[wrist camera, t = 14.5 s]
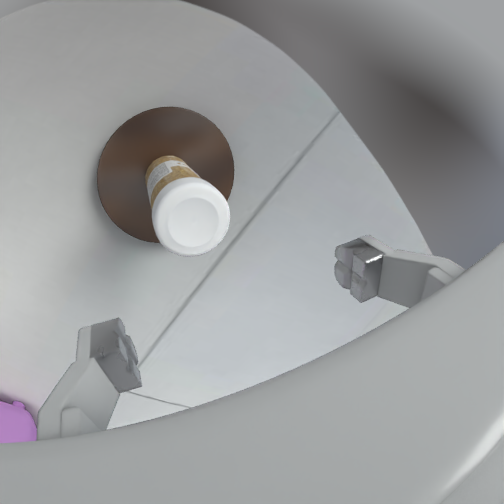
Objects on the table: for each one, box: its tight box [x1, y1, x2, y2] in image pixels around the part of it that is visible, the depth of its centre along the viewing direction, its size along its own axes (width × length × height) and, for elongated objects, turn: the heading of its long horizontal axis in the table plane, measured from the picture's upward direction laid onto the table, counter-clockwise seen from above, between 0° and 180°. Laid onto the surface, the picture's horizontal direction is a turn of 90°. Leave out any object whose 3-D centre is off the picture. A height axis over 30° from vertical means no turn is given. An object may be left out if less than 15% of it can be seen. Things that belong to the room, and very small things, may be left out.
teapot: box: [0, 401, 37, 443], centre depth 26 cm, size 20×12×13 cm, turn 68°
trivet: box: [97, 107, 234, 243], centre depth 28 cm, size 14×14×2 cm
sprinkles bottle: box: [145, 156, 230, 257], centre depth 22 cm, size 5×5×14 cm
